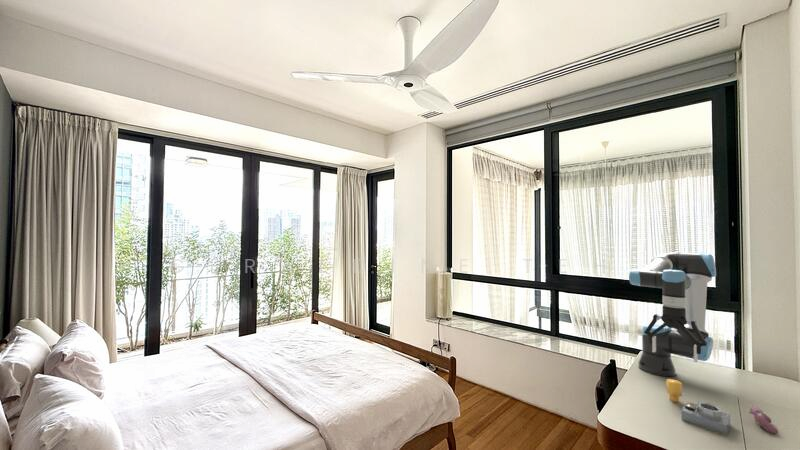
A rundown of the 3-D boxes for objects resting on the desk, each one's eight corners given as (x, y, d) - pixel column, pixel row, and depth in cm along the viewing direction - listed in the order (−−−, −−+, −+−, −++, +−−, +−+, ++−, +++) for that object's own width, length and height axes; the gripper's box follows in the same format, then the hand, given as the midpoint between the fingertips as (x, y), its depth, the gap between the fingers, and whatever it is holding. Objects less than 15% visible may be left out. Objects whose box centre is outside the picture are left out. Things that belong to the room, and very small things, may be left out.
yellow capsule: (665, 400, 135) (665, 381, 135) (668, 396, 138) (668, 377, 138) (680, 405, 131) (680, 385, 131) (683, 401, 134) (683, 382, 135)
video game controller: (756, 423, 122) (744, 404, 124) (772, 422, 119) (759, 402, 122) (763, 435, 114) (749, 414, 116) (780, 434, 112) (766, 413, 114)
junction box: (681, 419, 120) (681, 403, 121) (687, 410, 127) (687, 395, 128) (726, 435, 111) (726, 418, 111) (730, 424, 118) (730, 408, 118)
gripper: (636, 302, 143) (636, 349, 143) (713, 313, 124) (713, 368, 123) (640, 300, 148) (641, 346, 147) (715, 310, 129) (716, 363, 128)
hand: (674, 356), depth 135 cm, fingers open, 13 cm apart
